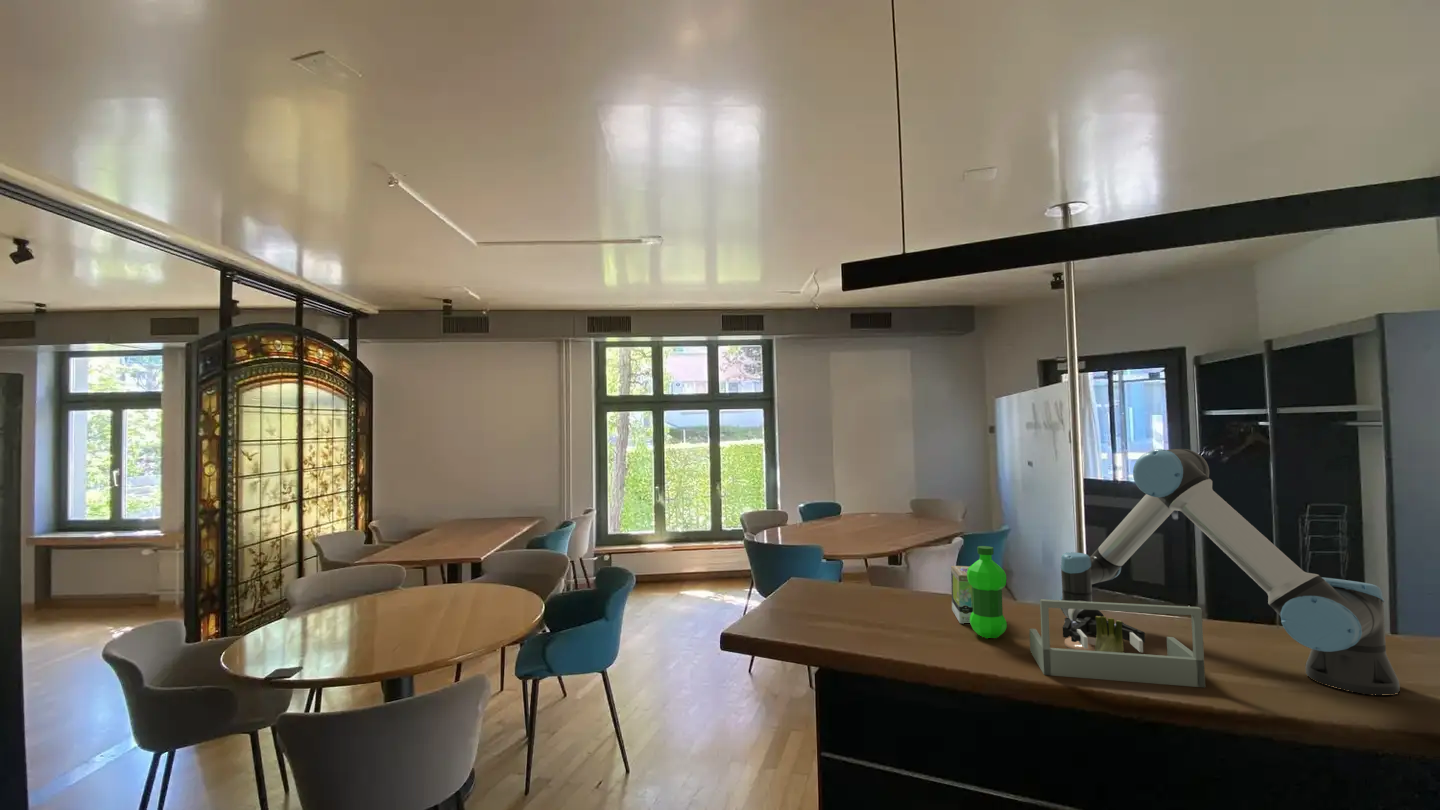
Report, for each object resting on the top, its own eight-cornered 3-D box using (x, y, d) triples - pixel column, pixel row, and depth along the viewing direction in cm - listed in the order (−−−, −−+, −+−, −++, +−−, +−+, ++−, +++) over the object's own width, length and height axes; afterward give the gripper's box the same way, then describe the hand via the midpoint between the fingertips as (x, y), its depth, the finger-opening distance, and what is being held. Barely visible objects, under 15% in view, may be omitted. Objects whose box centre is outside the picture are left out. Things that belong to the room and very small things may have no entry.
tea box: (994, 625, 190) (992, 575, 190) (959, 624, 192) (957, 574, 192) (984, 611, 205) (982, 565, 205) (951, 610, 207) (949, 564, 207)
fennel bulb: (1127, 669, 154) (1125, 619, 154) (1110, 671, 153) (1107, 621, 153) (1108, 661, 160) (1106, 613, 160) (1091, 663, 159) (1089, 614, 159)
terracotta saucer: (1126, 646, 170) (1126, 643, 170) (1113, 659, 161) (1113, 656, 161) (1073, 636, 179) (1073, 633, 179) (1057, 647, 170) (1057, 644, 170)
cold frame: (1030, 651, 168) (1027, 584, 168) (1174, 661, 159) (1171, 590, 159) (1044, 674, 152) (1041, 600, 152) (1205, 687, 143) (1201, 608, 143)
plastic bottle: (972, 640, 177) (969, 550, 178) (967, 629, 187) (964, 543, 188) (1011, 643, 174) (1007, 551, 175) (1003, 631, 184) (1000, 544, 186)
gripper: (1136, 635, 171) (1170, 664, 149) (1040, 629, 177) (1059, 656, 156) (1135, 607, 171) (1168, 632, 150) (1039, 602, 177) (1058, 625, 156)
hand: (1113, 644), depth 153 cm, fingers open, 11 cm apart
